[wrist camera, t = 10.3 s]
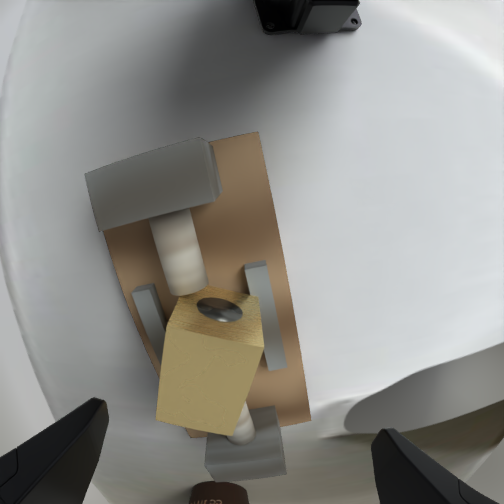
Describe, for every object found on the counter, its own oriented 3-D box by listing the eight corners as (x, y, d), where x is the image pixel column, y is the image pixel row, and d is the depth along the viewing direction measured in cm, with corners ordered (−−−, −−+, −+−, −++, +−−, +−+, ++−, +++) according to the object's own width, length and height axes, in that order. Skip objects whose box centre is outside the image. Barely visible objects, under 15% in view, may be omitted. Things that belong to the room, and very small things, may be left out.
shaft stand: (100, 177, 17) (40, 186, 11) (256, 134, 17) (264, 116, 10) (192, 425, 23) (183, 484, 16) (308, 408, 22) (323, 468, 16)
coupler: (233, 378, 18) (232, 436, 13) (172, 364, 18) (155, 420, 13) (258, 296, 17) (264, 346, 12) (187, 279, 16) (166, 324, 11)
